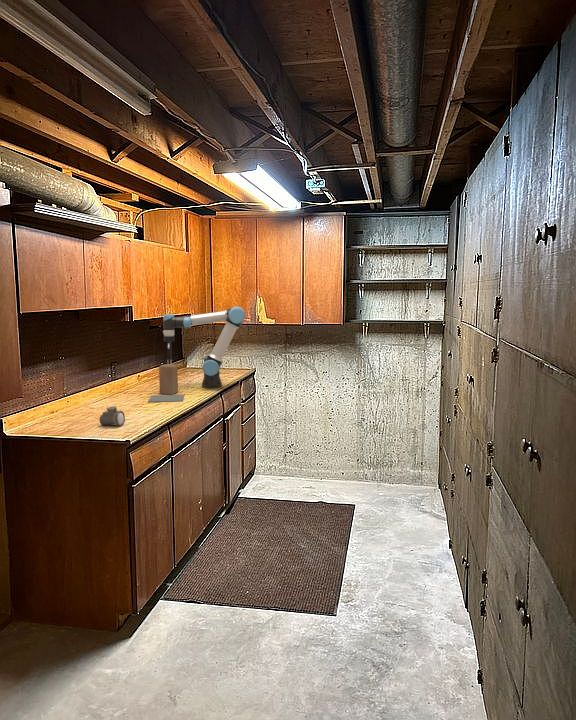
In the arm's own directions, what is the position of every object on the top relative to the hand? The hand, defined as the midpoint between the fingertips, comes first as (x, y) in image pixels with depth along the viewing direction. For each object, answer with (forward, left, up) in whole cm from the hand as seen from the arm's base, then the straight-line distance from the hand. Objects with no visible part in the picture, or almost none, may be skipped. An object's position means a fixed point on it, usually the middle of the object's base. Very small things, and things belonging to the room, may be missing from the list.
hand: (169, 368), depth 399 cm
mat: (0, +35, -16) cm, 38 cm away
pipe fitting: (+23, +108, -16) cm, 112 cm away
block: (0, +14, -16) cm, 21 cm away
